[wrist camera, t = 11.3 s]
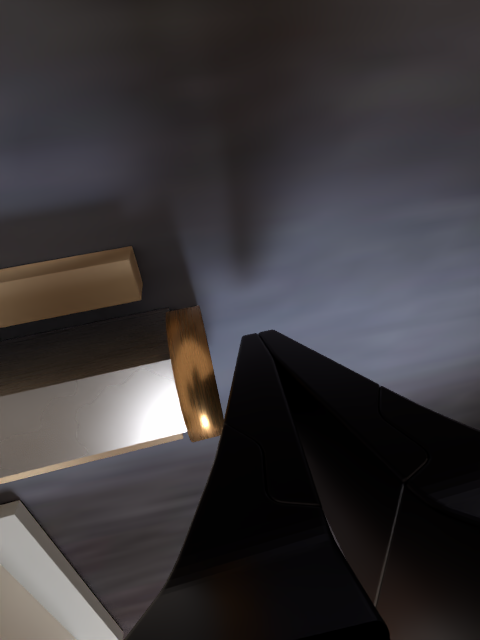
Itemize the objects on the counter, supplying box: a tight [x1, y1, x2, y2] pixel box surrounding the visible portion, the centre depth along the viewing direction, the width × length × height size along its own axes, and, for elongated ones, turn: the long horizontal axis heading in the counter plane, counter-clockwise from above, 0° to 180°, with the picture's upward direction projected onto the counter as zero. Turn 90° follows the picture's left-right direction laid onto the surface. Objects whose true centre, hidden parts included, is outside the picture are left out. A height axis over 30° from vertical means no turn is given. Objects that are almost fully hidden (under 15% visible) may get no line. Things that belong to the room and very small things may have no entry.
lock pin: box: [0, 306, 224, 478], centre depth 8 cm, size 8×3×3 cm, turn 97°
